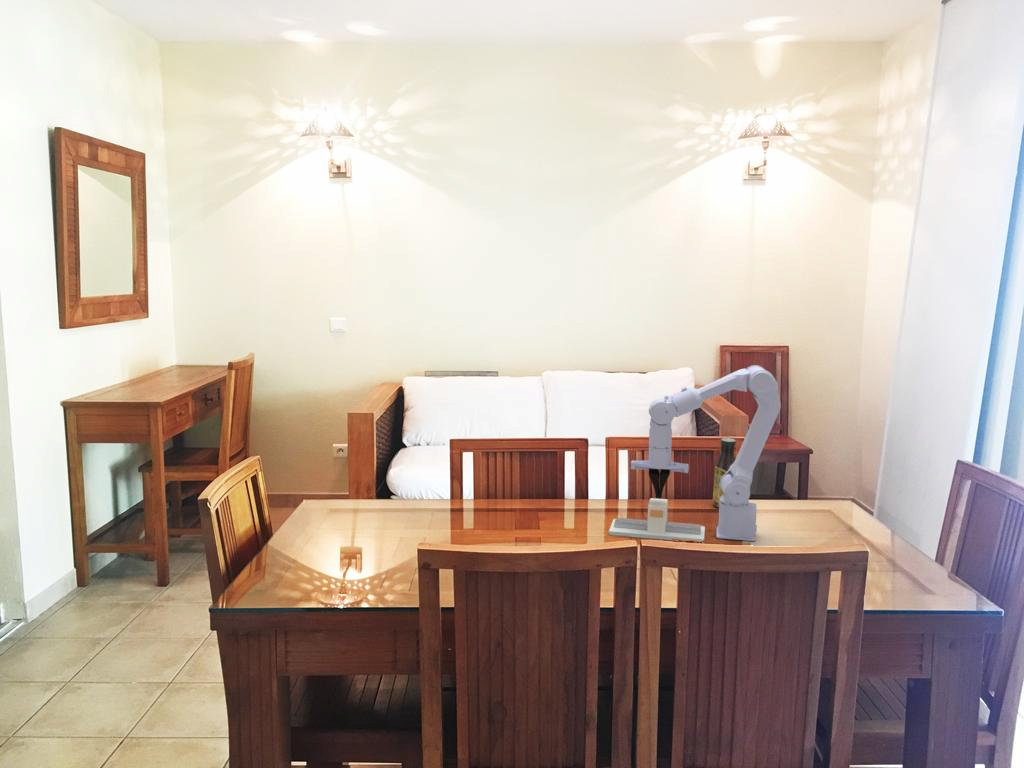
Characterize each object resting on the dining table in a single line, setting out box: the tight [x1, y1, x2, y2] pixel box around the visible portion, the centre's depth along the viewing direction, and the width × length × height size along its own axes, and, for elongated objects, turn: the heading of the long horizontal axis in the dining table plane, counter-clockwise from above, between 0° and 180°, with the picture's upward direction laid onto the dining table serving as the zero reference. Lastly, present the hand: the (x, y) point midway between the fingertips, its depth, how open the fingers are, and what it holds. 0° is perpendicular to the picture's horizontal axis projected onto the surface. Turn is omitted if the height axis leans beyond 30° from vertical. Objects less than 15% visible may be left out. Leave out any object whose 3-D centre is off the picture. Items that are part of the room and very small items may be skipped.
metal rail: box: [614, 517, 702, 535], centre depth 207 cm, size 22×4×2 cm, turn 75°
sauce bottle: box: [712, 437, 737, 508], centre depth 227 cm, size 7×6×20 cm
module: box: [647, 497, 669, 534], centre depth 207 cm, size 4×7×7 cm, turn 165°
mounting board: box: [608, 518, 706, 544], centre depth 207 cm, size 24×10×1 cm, turn 75°
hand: (658, 497), depth 206 cm, fingers closed
